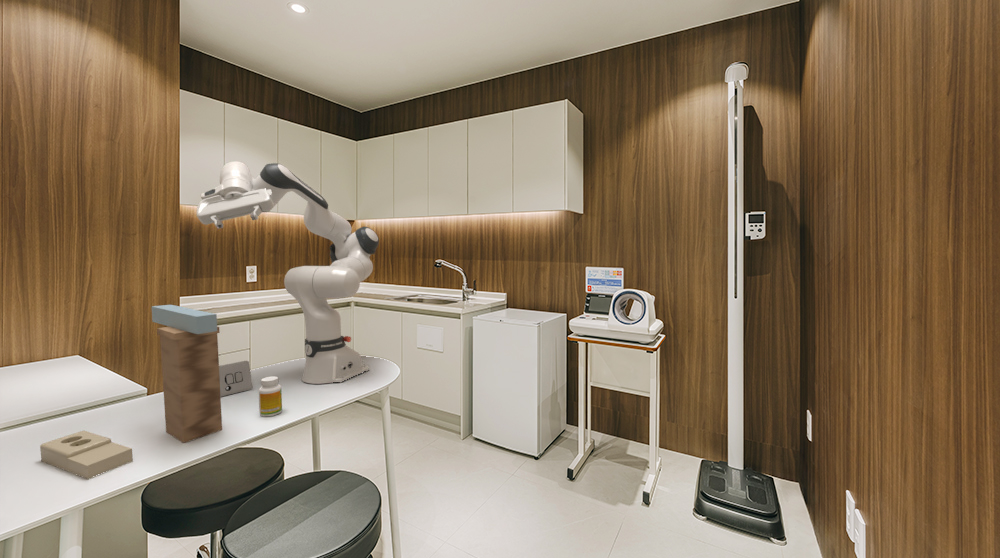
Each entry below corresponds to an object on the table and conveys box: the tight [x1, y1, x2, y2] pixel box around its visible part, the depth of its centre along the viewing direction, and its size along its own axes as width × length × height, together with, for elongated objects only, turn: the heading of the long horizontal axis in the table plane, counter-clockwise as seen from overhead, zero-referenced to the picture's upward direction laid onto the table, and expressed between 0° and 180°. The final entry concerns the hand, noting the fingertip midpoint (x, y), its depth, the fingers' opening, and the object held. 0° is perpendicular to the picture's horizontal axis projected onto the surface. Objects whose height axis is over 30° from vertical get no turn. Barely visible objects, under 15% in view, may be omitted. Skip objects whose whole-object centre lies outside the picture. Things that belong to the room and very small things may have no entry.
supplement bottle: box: [258, 376, 283, 417], centre depth 108 cm, size 5×5×10 cm
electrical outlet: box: [39, 430, 134, 480], centre depth 84 cm, size 7×4×18 cm
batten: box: [150, 304, 218, 334], centre depth 97 cm, size 4×26×4 cm, turn 58°
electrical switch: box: [219, 360, 253, 397], centre depth 124 cm, size 9×5×9 cm, turn 141°
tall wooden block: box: [156, 325, 223, 444], centre depth 97 cm, size 9×10×26 cm
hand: (236, 222), depth 116 cm, fingers open, 8 cm apart
